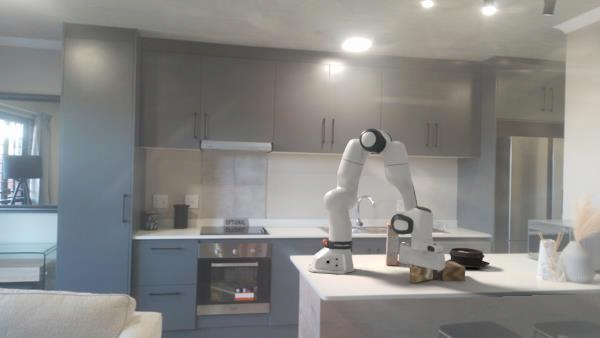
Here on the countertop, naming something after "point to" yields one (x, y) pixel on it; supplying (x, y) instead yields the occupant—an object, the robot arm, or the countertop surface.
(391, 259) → the cracker box
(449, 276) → the stool seat
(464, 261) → the casserole
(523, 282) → the countertop surface
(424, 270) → the stool leg
